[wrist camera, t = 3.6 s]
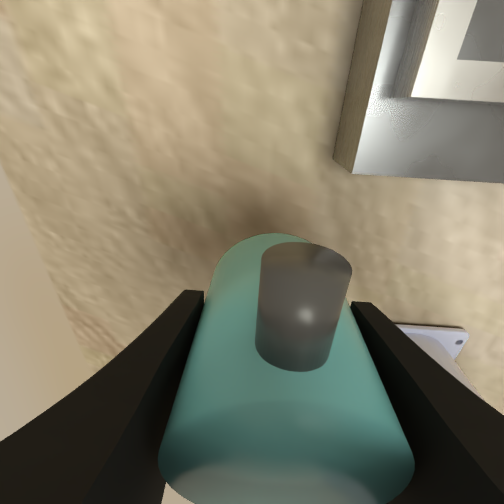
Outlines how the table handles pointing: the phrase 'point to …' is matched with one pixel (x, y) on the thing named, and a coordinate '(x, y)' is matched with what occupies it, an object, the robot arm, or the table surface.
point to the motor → (426, 91)
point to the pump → (282, 389)
